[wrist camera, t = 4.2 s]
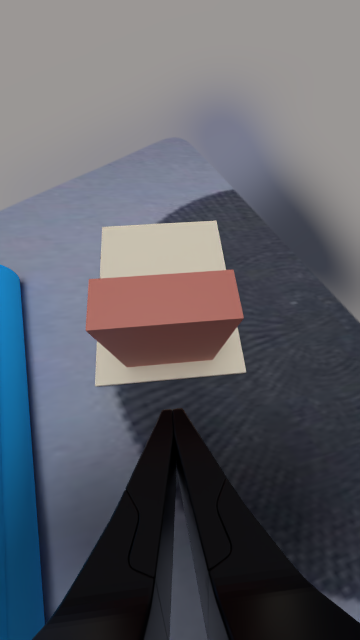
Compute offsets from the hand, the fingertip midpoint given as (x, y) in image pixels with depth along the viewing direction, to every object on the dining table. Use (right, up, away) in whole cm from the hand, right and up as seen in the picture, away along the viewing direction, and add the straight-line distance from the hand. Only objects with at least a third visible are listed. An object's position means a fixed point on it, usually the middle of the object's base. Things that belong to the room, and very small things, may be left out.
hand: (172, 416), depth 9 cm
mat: (-1, +7, +12) cm, 14 cm away
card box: (-1, +2, +9) cm, 10 cm away
